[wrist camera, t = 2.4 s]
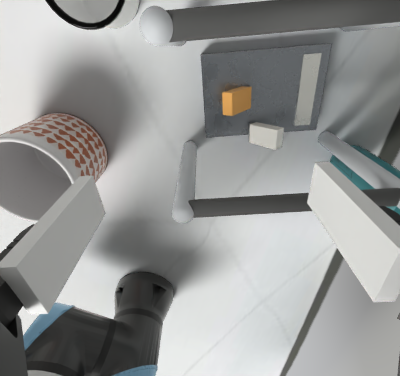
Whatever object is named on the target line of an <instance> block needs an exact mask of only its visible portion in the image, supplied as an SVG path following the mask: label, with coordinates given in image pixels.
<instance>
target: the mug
mask: <svg viewBox="0 0 400 376" xmlns="http://www.w3.org/2000/svg"><path fill="white" fill-rule="evenodd" d="M45 1H46V2H47V3H48V5H49V6H50V7H51V9H52V10H53V11H54V12H55V13H56V14H57V15H58V16H59V17H61V18H62V19H63V20H65V21H66V22H68V23H69V24H71V25H74V26H76V27H78V28H82V29H86V30H97V29H102V28H104V27H105V28H110V29H117V28H121V27H124V26H126V25H127V24H128V23H130V22H131V21H132V19H133V18H134V17H135V15H136V12H137V10H138V6H139V0H45Z"/></svg>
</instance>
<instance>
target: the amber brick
mask: <svg viewBox="0 0 400 376" xmlns="http://www.w3.org/2000/svg"><path fill="white" fill-rule="evenodd" d="M251 89H252V87H250V86H242V87H238V88H235V89H232V90H228V91H225V92H222V102H223V115H228V116H234V115H236V114H238V113H241V112H243V111H245V110H247V109H250V108H251Z"/></svg>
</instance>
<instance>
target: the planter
mask: <svg viewBox="0 0 400 376" xmlns="http://www.w3.org/2000/svg"><path fill="white" fill-rule="evenodd" d="M106 165H107V151H106V147H105V145H104V142H103V140H102V139H101V137H100V136H99V134H98V133H97V132H96V131H95V130H94V129H93V128H92V127H91V126H90V125H89V124H87V123H86V122H85V121H83V120H81V119H79V118H77V117H75V116H72V115H69V114H64V113H52V114H47V115H44V116H42V117H40V118H37V119H35V120H33V121H31V122H28V123H26V124H24V125H22V126H19V127H17V128H15V129H13V130H10V131H8V132H6V133H4V134H1V135H0V208H1V209H3V210H4V211H6V212H8V213H9V214H11V215H14V216H16V217H18V218H21V219H24V220H27V221H32V222H38V221H39V220H40V218H41V217H42V216H43V215H44V214H45V213H46V212H47V211H48V210H49V209H50V208H51V207H52V206H53V204H54V203H55V202H56V201H57V200H58V199H59V198H60V197H61V196H62V195H63V194H64V193H65V192H66V191H67V189H68V188H69V187H70V186H71V185H72V184H73V183H74V182H75V181H76V180H77V179H78V178H79V177H80V176H93V178H94V181H95V183H96V181H97V180H98V179H99V178H100V176H101V175H102V174H103V172H104V170H105V168H106Z"/></svg>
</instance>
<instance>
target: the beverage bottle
mask: <svg viewBox="0 0 400 376" xmlns="http://www.w3.org/2000/svg"><path fill="white" fill-rule="evenodd" d="M350 146H351V147H353V148H354V149H356V150H357V151H359V152H360V153H362V154H363V155H365V156H366V157H368V158H369V159H371V160H372V161H374V162H375V163H377V164H378V165H380V166H381V167H383V168H384V169H386V170H387V171H389V172H390V173H392V174H393V175H395V176H396V177H398V178H399V179H400V171H399V170H397V169H395V168H394V167H393V166H391V165H390V164H388V163H386V162H387V161H386V162H385V161H383V160H381V158H378V157H379V156H378V157H377V156H375V154H374V155H373V154H372V153H370V152H368V151H369V150H367V149H366V150H365V149H363V148H362V147H360V146H359V145H358V146H355V145H350ZM330 163H331V164H332V165H334V166H335V167H336V168H337V169H338V170H339V171H340V172H341V173H342V174H343V175H345V176H346V177H347V178H348V179H349V180H350V181H351V182H352V183H353V184H354V185H356V186H357V187H358V188H359V189H360V190H366V189H375V188H373V187H372V186H371V185H370V184H369V183H367V182H366V181H365V180H364V179H363V178H361V177H360V176H359V175H358V174H356V173H355V172H354V171H353V170H352V169H350V168H349V167H348V166H347V165H346V164H344V163H343V162H342V161H341V160H339V159H338V158H337V157H336V156H335V155H333V156H332V158H331V160H330ZM387 208H389V209H391V210H393V211H395V212H397V213H398V214H399V215H400V209H399V208H398V207H397V206H391V207H387Z"/></svg>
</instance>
